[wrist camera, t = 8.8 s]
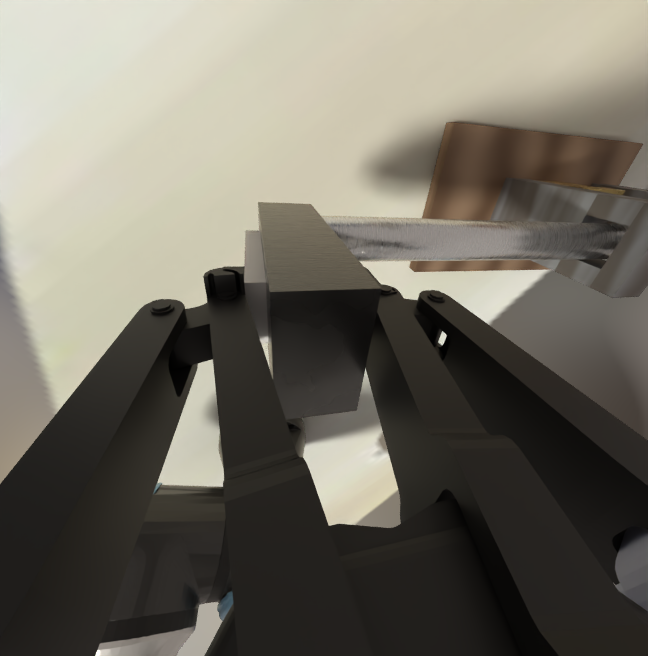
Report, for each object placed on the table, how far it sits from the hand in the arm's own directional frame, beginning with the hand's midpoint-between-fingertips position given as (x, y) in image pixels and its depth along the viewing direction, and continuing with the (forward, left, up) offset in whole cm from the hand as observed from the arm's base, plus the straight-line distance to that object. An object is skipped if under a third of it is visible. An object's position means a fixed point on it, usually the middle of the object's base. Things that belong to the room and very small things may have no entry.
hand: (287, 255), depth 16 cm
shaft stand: (+31, 0, -17) cm, 36 cm away
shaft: (+13, 0, -5) cm, 14 cm away
